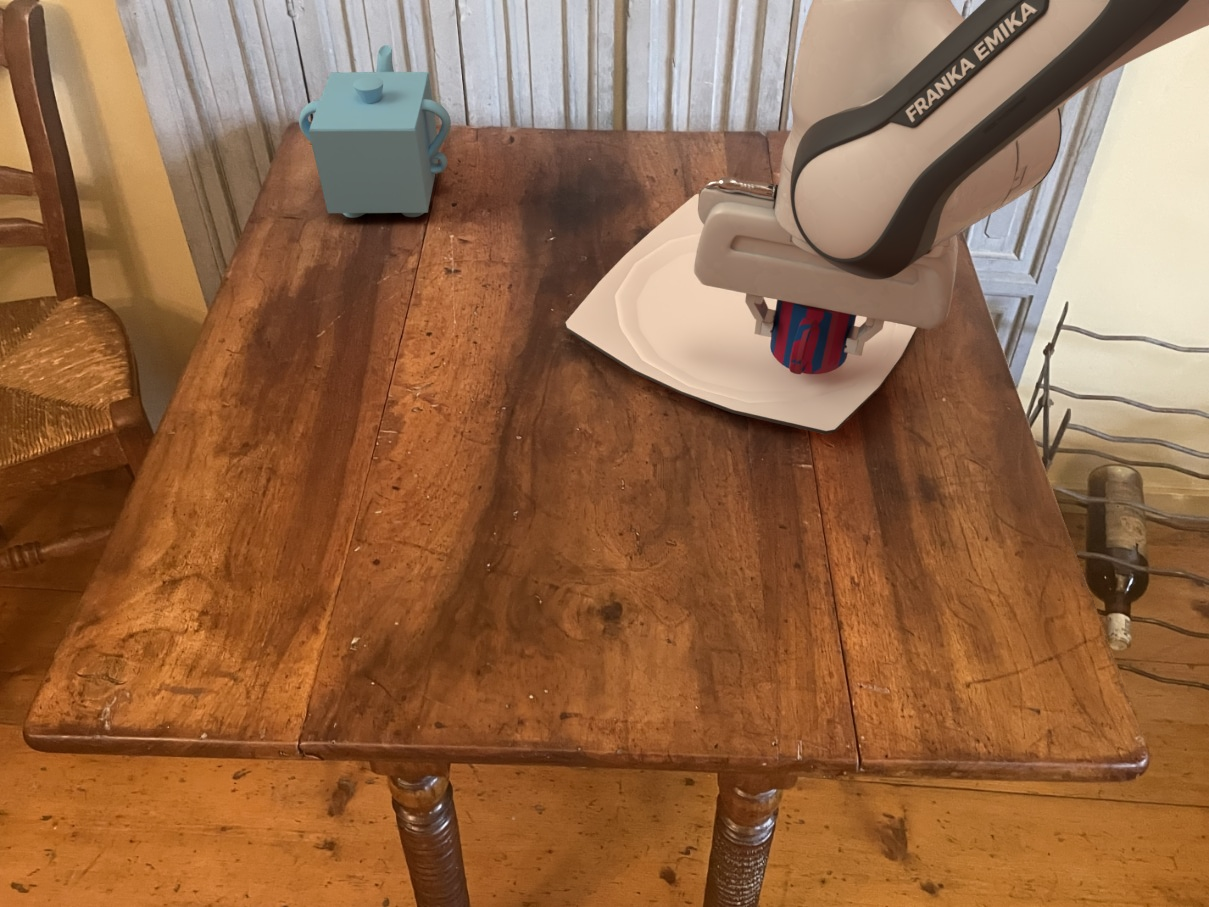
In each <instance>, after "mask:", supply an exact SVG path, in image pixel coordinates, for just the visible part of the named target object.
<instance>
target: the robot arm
mask: <svg viewBox="0 0 1209 907" xmlns="http://www.w3.org/2000/svg"><path fill="white" fill-rule="evenodd" d="M1208 26H1209V0H984V1H983V2H982V3H981V4H980V5H979V6H977V7H976V8H975V9H974V10H973V12H972V13H970V14H969V15H968V16H967V17H966V18H964V17H963V15H961V14H960V12H959V11H958V10H957V9H956V7H955V5H954V4H953V2H952V0H812V1H811V4H810V6H809V8H808V11H807V15H806V18H805V21H804V24H803V28H802V32H801V36H800V40H799V44H798V49H797V53H796V54H797V55H796V60H795V65H794V72H793V78H792V85H791V91H790V108H791V113H792V124H791V129H790V132H789V134H788V136H787V138H786V141H785V142H784V145H783V150H782V155H781V160H780V169H779V175H778V183H777V184H774V183H769V182H761V181H752V180H743V179H739V178H737V177H733V176H720V177H719V180H712V181H708V182H707V183H706V184H704V185H703V186H702V187H701V189H700V190H699V193H698V194H699V201H698V215H699V218H700V220H701V222H702V223H703V224H704V227H703V230H702V233H701V236H700V240H699V244H698V248H697V253H696V258H695V265H694V274H695V275H696V277H697V278H698V280H699V281H700V282H701V284H703V285H706V286H711V287H716V288H721V289H726V290H731V291H736V292H741V293H746V299H745V302H746V304H747V306H748V308H749V310H750V311H751V313H752V315H753V317H754V319H756V325H755V332H754V333H755V334H757V335H762V336H767V337H772V334H773V331H774V328H775V323H776V316H777V310H772V309H768V307H767V304H766V302H765V300H764V297H766V298H771V299H777V300H782V301H787V302H792V303H797V304H802V305H807V306H812V307H817V308H822V309H827V310H832V311H837V312H842V313H847V314H852V315H858V316H863V317H867V320H866V322H865V323H863V324H862V325H861V326H860V327H857V326H852V325H851V326H850V329H849V333H848V337H847V341H846V345H845V349H844V352H845V353H850V354H854V355H859V356H861V355H862V351H863V347H864V343H865V342H867V341H868V340H869V339H871V338H872V337H873V336H874V335H876V334H877V333H878V332H879V331H881V330H882V328H883V325H884V321H888V322H893V323H898V324H903V325H908V326H913V327H917V329H918V328H919V329H922V330H928V331H933V330H935V329H937V328H939V327H941V326H942V325H944V324H945V323H946V322H947V320H948V318H949V314H950V310H951V304H952V299H953V293H954V288H955V281H956V274H957V265H958V257H959V256H958V254H959V253H958V252H959V241H958V237H957V235H958V234H960V233H961V232H964V231H965V230H967V229H968V228H971V227H972V226H973V225H975V224H977V223H979V222H980V221H982V220H984V219H985V218H987V217H989V216H990V215H991V214H993V213H995V212H997V211H998V210H1001V209H1002V208H1004V207H1006V206H1007V205H1009V204H1010V203H1012V202H1014V201H1015V200H1017V199H1018V198H1020V197H1022V196H1023V195H1024V194H1026V193H1028V192H1029V191H1031V190H1033V189H1035V187H1037V186H1038V185H1039V184H1040V183H1041V182H1043V181H1044V180H1045V178H1046V177H1047V176H1048V174H1050V172H1051V170H1052V169H1053V166H1054V165H1055V163H1056V161H1057V159H1058V156H1059V152H1060V148H1061V143H1062V132H1063V130H1062V129H1063V128H1062V127H1063V125H1062V124H1063V123H1062V115H1061V109H1060V108H1061V107H1062V106H1063V105H1065V104H1066V103H1067V102H1068V101H1070V100H1071V99H1072V98H1074V97H1075V96H1076V95H1077V94H1079V93H1080V92H1082V91H1083V90H1085V89H1086V88H1088V87H1089V86H1091V85H1092V84H1094V83H1096V82H1097V81H1099V80H1101V79H1102V78H1104V77H1106V76H1107V75H1108V74H1111V73H1112V72H1114V71H1116V70H1118V69H1120V68H1121V67H1123V66H1125V65H1127V64H1129V63H1130V62H1133V61H1134V60H1136V59H1138V58H1141V57H1142V56H1144V55H1147V54H1149V53H1151V52H1152V51H1155V50H1157V49H1158V48H1159V49H1160V48H1161V47H1163V46H1165V45H1168V44H1169V43H1172V42H1174V41H1177V40H1179V39H1181V38H1183V37H1185V36H1188V35H1190V34H1191V33H1194V32H1196V31H1199V30H1202V29H1203V28H1206V27H1208ZM856 349H857V350H856ZM855 353H856V354H855Z"/></svg>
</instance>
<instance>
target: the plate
mask: <svg viewBox="0 0 1209 907" xmlns="http://www.w3.org/2000/svg"><path fill="white" fill-rule="evenodd" d="M698 201H699V193H696V194H694V195H693V196H691V197H690V198H689V199H688V200H687V201H686V202H684V203H683V204H682V205H681V206H679V208H677V209H676V210H675V211H673V212H672V213H671V214H670V215H669V216H667V218H665V219H664V220H662V222H660V223H659V224H658V225H657V226H656V227H655V228H653V229H652V230H651V231H650V232H648V234H647V235H645V236H644V237H643V238H642V239H641V240H640V241H638V242H637V244H636V245H634V246H633V247H632V248H631V249H630V250H629V251H628V252H627V253H625V255H623V257H621V258H620V260H618V262H617V263H615V265H614V266H613V267H612V268H611V269H610V270H609V271H608V272H607V273H606V274H605V275H604V276H603V277H602V278H601V280H600V281H599V282H598V283H597V284H596V285H595V286H594V288H593V289H592V290H591V291H590V292H589V294H587V296H586V297H585V298H584V299H583V301H582V302H581V303H580V304H579V305H578V307H577V308H576V309H575V310H574V311H573V313H571V315H570V316H569V318H567V320H566V321H565V324H564V326H565V329H566V332H568V333H570V334H571V335H573V336H574V337H576V338H578V339H580V340H581V341H582V342H584V343H586V344H587V345H588V346H590V347H592V348H593V349H595V350H597V351H599V353H602V354H603V355H605V356H607V357H608V358H609V359H611V360H613V361H614V362H616V363H617V364H619V365H621V366H622V367H624V368H626V369H627V370H629V371H631V373H632V372H633V373H634V374H636V375H637V376H640V377H643V378H645V379H646V380H649V381H651V382H652V383H653V382H654V383H656V384H657V385H660V386H663V387H665V388H666V389H669V390H672V391H674V392H676V393H678V394H680V395H683V396H685V397H687V398H691V399H693V400H696V401H699V402H701V403H704V404H706V405H710V406H712V407H715V408H718V409H720V410H723V411H726V412H728V413H730V414H731V413H732V414H735V415H739V416H744V417H748V418H753V419H756V420H761V421H766V422H770V423H774V424H778V425H783V426H787V427H791V428H792V427H793V428H795V429H800V430H805V431H809V432H813V433H818V434H822V435H829V434H835V433H836V432H837V431H838V430H839V429H840V428H841V427H842V426H843V425H845V423H846V422H847V421H848V420H850V418H851V417H852V416H854V414H855V413H856V412H857V411H858V410H860V408H862V406H863V405H864V404H866V403H867V401H868V400H869V399H870V398H871V397H872V396H873V395H874V394H876V393H877V392H878V390H880V388H881V387H882V385H883V384H884V383H885V382H886V380H887V378H888V377H889V376H890V374H892V372H893V371H894V369H895V367H897V365H898V364H899V362H900V361H901V359H902V358H903V356H904V354H905V352H906V350H907V348H908V346H909V344H910V343H911V341H912V339H913V336H914V335H915V333H916V331H917V329H918V327H913V326H908V325H903V324H898V323H893V322H888V321H884V325H883V328H882V330H881V331H879V332H878V333H877V334H876V335H874V336H873V337H872V338H871V339H869V340H868V341H867V342H865V343H864V347H863V351H862V355H861V356H859V355H854V354H850V353H848V354H847V358H846V360H845V362H844V363H843V364H842V365H841V366H840V367H838V368H837V369H835V370H833V371H830V372H827V373H822V374H805V373H801V374H794V373H792V372H790V369H789V368H787V367H785V366H784V365H782V364H781V363H780V362H778V361H777V360H776V358H775V357H774V356H773V354H772V352H771V348H770V342H771V337H767V336H762V335H757V334H755V333H754V332H755V325H756V319H754V317H753V315H752V313H751V311H750V310H749V308H748V306H747V304H746V302H745V299H746V293H741V292H736V291H731V290H726V289H721V288H716V287H711V286H706V285H703V284H701V282H700V281H699V280H698V278H697V277H696V275H695V274H694V265H695V258H696V253H697V248H698V244H699V240H700V236H701V233H702V230H703V227H704V224H703V223H702V222H701V220H700V218H699V215H698ZM764 300H765V302H766V304H767V307H768V309H772V310H776V304H777V299H771V298H766V297H764ZM866 320H867V317H863V316H858V315H857V316H856V320H855V324H854V326H857V327H860V326H861V325H862V324H863V323H865V322H866ZM856 350H857V349H856ZM855 354H856V353H855Z"/></svg>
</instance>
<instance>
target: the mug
mask: <svg viewBox="0 0 1209 907" xmlns="http://www.w3.org/2000/svg"><path fill="white" fill-rule="evenodd" d="M776 310H777V316H776V323H775V328H774V331H773V334H772V337H771V342H770V348H771V352H772V354H773V356H774V357H775V358H776V360H777V361H778V362H780V363H781V364H782V365H784V366H785V367H787V368H789V369H790V372H792V373H794V374H801V373H805V374H822V373H827V372H830V371H833V370H835V369H837V368H838V367H840V366H841V365H842V364H843V363H844V362H845V360H846V358H847V354H848V353H845V352H844V349H845V345H846V341H847V337H848V333H849V329H850V326H851V325H852V326H854V324H855V320H856V316H857V315H852V314H847V313H842V312H837V311H832V310H827V309H822V308H817V307H812V306H807V305H802V304H797V303H792V302H787V301H782V300H777V304H776Z"/></svg>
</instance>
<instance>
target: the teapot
mask: <svg viewBox="0 0 1209 907" xmlns="http://www.w3.org/2000/svg"><path fill="white" fill-rule="evenodd" d="M430 78H431V77H430V72H428V71H395V69H394V63H393V49H392V47H391V45H389V44H385V45H382V46H381V47H380V48H379V49H378V52H377V61H376V71H354V72H353V71H347V72H345V71H343V72H342V71H341V72H336V71H335V72H333V71H332V72H330V73H329V77H328V78H327V81H326V83H325V86H324V87H323V88H324V89H323V91H322V94H321V96H320V99H317V100H312V101H310V102H309V103H307V104H306V105H305V106H304V107H303V108H302V110H301V112H300V114H299V117H298V125H299V128H300V130H301V132H302V134H303V136H304V137H305V138H306V139H307V140H308V141H309V142H310V144H311V147H312V152H313V156H314V160H315V165H316V169H317V174H318V178H319V181H320V185H321V186H320V187H321V190H322V196H323V199H324V203H325V207H326V211H327V214H343V216H345V217H347V218H351V219H352V218H359V217H362V216H364V215H365V214H393V213H394V214H402V215H403V216H404V217H407V218H417V217H421V216H422V215H424V214H425V213H429V207H430V203H431V197H432V192H433V188H434V182H435V177H436V175H437V174H441V173H443V172H444V171H445V170H447V167H448V158H447V156H446V155H445V154H444V153H443V152H441V151H440V149H441V147H442V146H443V144H444V143H445V141H446V139H447V137H448V135H449V134H450V130H451V127H452V126H451V125H452V120H451V116H450V113H449V112H448V110H447V109H446V108H445V106H443V105H442V104H440V103H439V102H437V101H436V100H433V94H432V92H433V91H432V85H431V79H430ZM313 114H314V115H313ZM311 115H313V118H312V119H311V120H312V121H311V122H310V121H309V117H310V116H311ZM436 116H437V117H438V118H439V119H440V120H441V127H440V129H439V131H437V124H436ZM438 161H439V162H438Z"/></svg>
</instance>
